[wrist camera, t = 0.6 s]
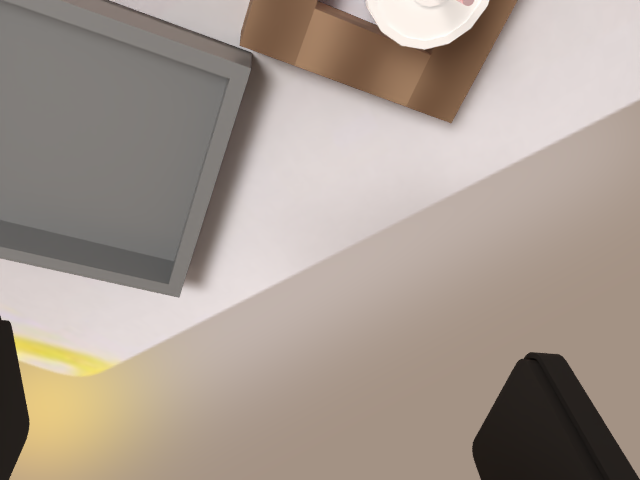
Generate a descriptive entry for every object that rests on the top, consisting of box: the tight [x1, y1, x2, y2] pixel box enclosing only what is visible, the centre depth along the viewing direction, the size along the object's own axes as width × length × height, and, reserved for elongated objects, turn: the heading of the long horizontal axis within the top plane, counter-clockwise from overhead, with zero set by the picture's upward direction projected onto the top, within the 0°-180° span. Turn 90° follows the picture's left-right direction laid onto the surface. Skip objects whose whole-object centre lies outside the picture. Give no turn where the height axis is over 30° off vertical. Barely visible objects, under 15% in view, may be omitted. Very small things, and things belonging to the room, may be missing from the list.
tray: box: [0, 0, 252, 297], centre depth 34 cm, size 18×18×4 cm
